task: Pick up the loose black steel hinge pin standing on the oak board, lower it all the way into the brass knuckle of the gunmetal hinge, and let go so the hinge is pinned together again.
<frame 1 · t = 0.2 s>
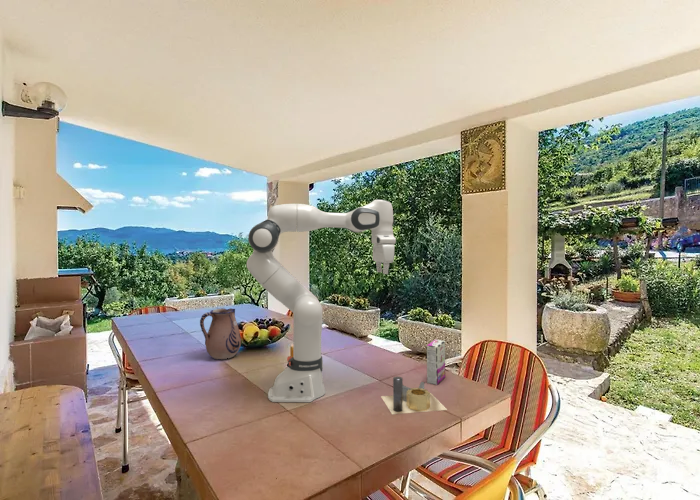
hand: (382, 273, 150), 47 cm above the table, tool pointing down, fingers open, 8 cm apart
oak board: (412, 406, 133), on the table
hinge leaves: (415, 396, 133), on the oak board, point 4 cm above the table
ceramic pitcher: (220, 358, 191), on the table
candy bar box: (436, 380, 160), on the table
hinge pin: (397, 409, 128), point 1 cm above the table, touching oak board
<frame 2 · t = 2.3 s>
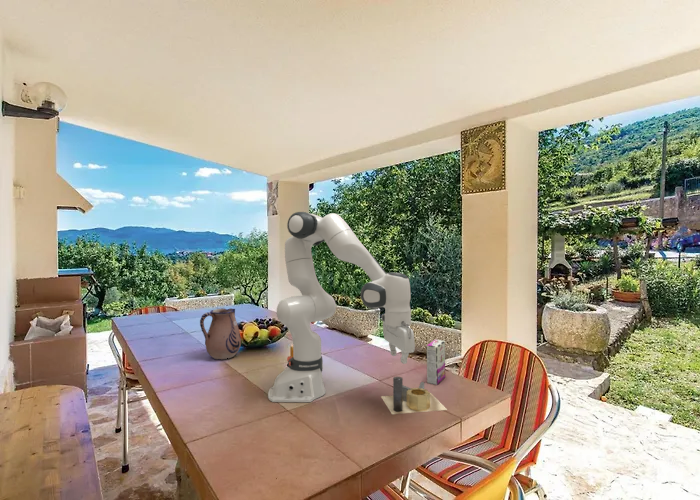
hand: (398, 359, 127), 19 cm above the table, tool pointing down, fingers open, 8 cm apart
nothing on the table moved.
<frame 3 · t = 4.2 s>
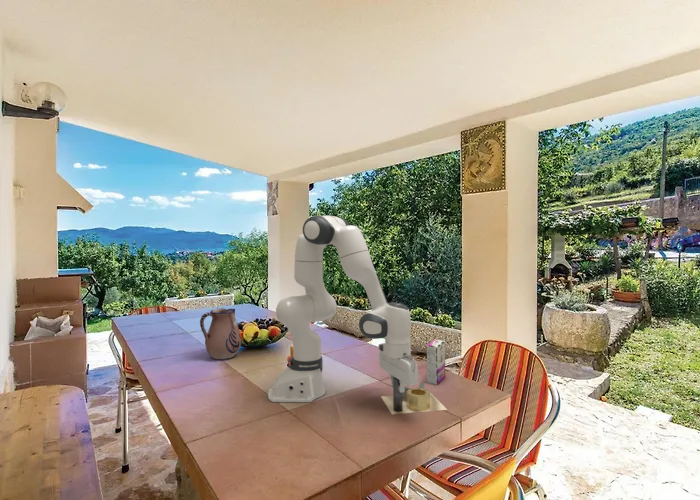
hand: (397, 389, 128), 9 cm above the table, tool pointing down, fingers closed on hinge pin, 3 cm apart
hinge pin: (397, 409, 128), point 2 cm above the table, touching gripper, oak board
everything else where it was.
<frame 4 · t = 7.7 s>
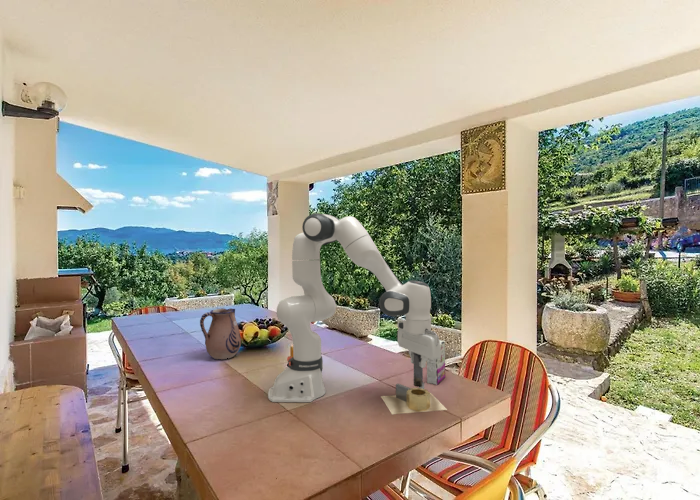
hand: (418, 365, 130), 16 cm above the table, tool pointing down, fingers closed on hinge pin, 3 cm apart
hinge pin: (418, 385, 130), point 9 cm above the table, touching gripper
everything else where it was.
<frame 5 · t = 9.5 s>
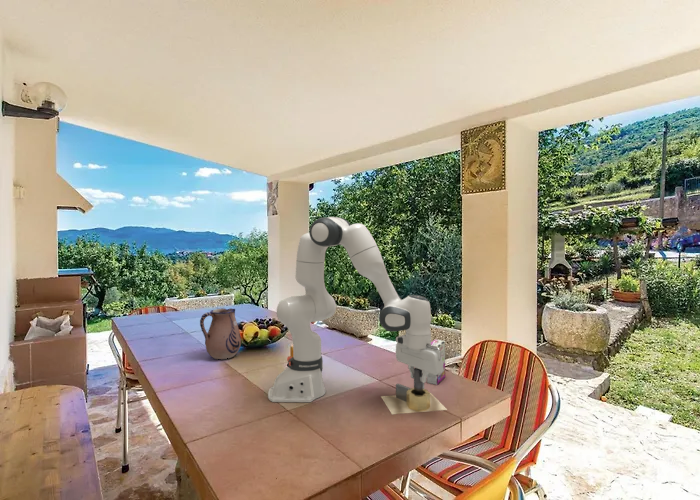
hand: (418, 379, 130), 11 cm above the table, tool pointing down, fingers closed on hinge pin, 3 cm apart
hinge pin: (418, 399, 130), point 4 cm above the table, touching gripper
everything else where it was.
when the fingers open (9 cm above the table, at t = 11.1 s): hinge pin stays where it is, resting on oak board.
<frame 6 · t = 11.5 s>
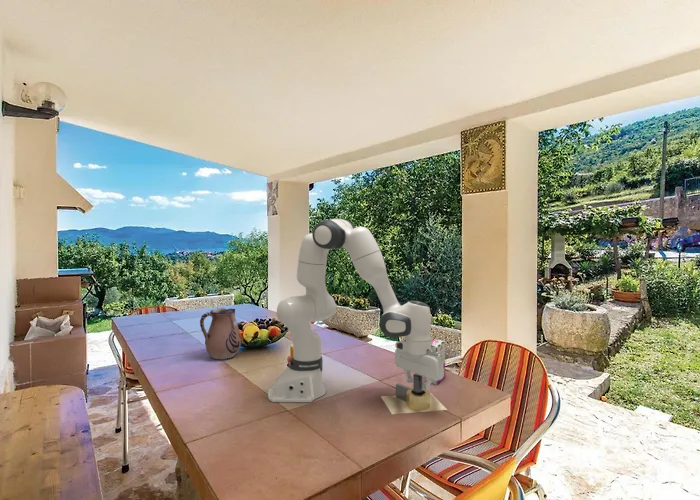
hand: (418, 385, 130), 9 cm above the table, tool pointing down, fingers open, 7 cm apart
hinge pin: (417, 406, 131), point 2 cm above the table, touching oak board
everything else where it was.
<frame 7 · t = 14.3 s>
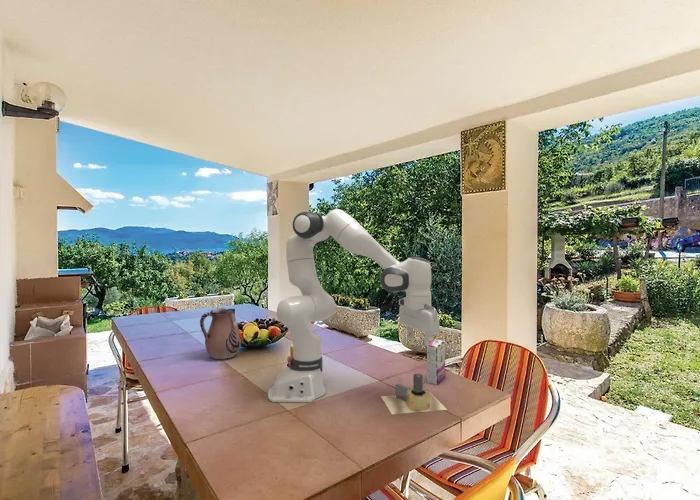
hand: (418, 341, 130), 25 cm above the table, tool pointing down, fingers open, 8 cm apart
nothing on the table moved.
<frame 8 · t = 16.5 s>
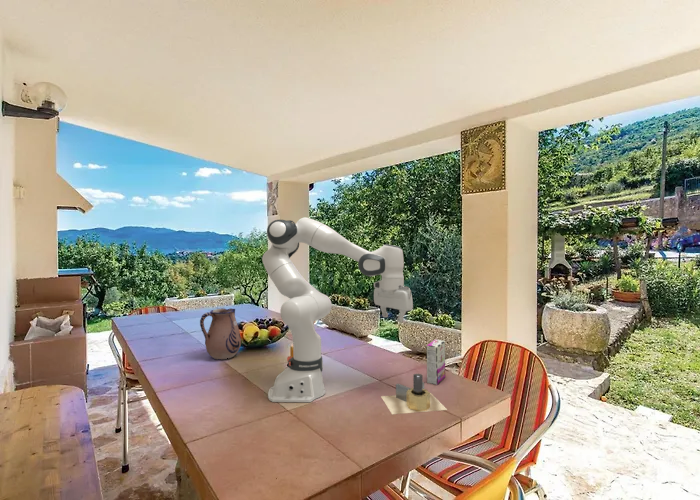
hand: (392, 318, 148), 29 cm above the table, tool pointing down, fingers open, 8 cm apart
nothing on the table moved.
at the end: hinge pin 0.1 cm from the target spot on the hinge leaves, point 1.5 cm above the hinge leaves's base; hinge pin tilted 0°; the gripper is holding nothing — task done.
